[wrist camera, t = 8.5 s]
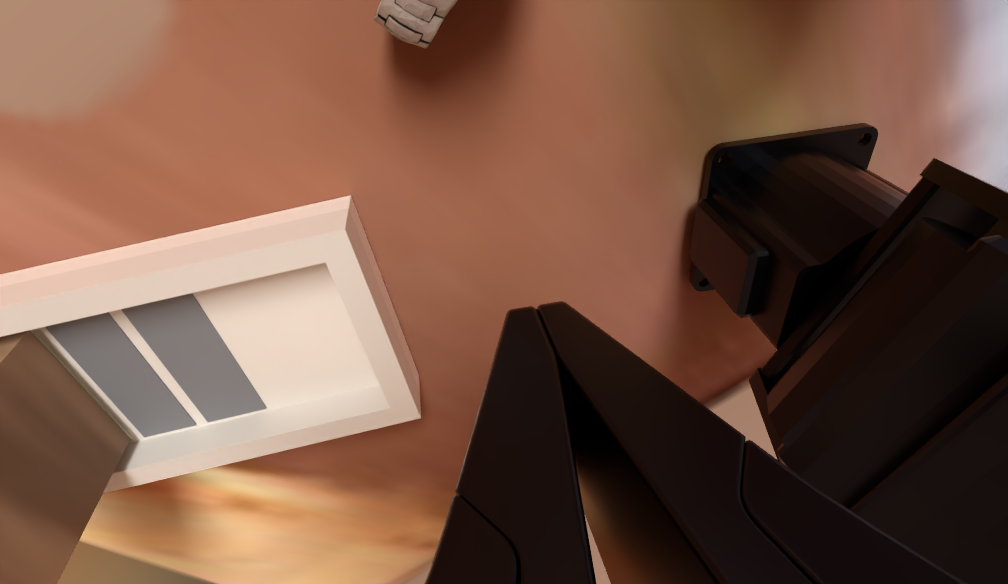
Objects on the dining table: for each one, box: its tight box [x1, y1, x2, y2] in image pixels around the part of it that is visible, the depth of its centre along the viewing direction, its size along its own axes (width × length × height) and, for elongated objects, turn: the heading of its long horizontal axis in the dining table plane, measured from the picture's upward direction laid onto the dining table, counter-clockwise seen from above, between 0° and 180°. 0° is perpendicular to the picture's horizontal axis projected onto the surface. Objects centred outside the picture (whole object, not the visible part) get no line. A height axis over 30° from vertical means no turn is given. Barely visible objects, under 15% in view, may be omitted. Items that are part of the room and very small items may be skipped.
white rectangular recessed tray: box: [0, 195, 421, 493], centre depth 21 cm, size 17×9×2 cm, turn 100°
